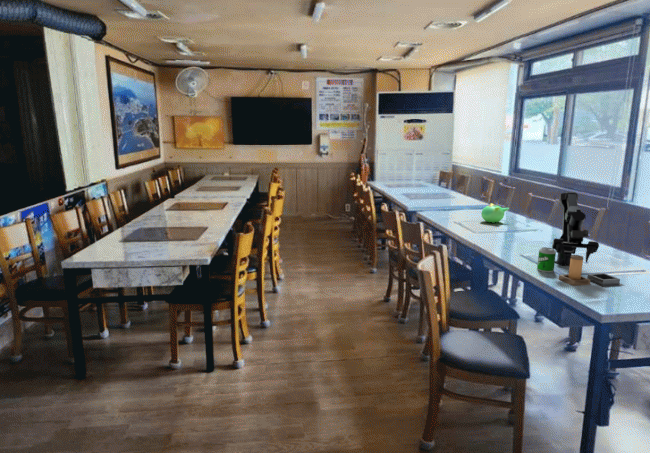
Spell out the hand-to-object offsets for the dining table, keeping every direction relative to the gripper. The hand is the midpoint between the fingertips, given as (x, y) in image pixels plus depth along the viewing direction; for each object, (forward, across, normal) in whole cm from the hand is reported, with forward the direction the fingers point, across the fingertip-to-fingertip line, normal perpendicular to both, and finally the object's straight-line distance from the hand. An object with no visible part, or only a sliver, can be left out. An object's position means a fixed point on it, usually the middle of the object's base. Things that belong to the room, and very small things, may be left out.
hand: (575, 260), depth 207 cm
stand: (+9, 0, +5) cm, 11 cm away
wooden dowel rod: (+8, 0, +4) cm, 10 cm away
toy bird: (-91, -36, +104) cm, 143 cm away
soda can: (-1, -11, +16) cm, 19 cm away
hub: (+6, +12, +8) cm, 16 cm away
